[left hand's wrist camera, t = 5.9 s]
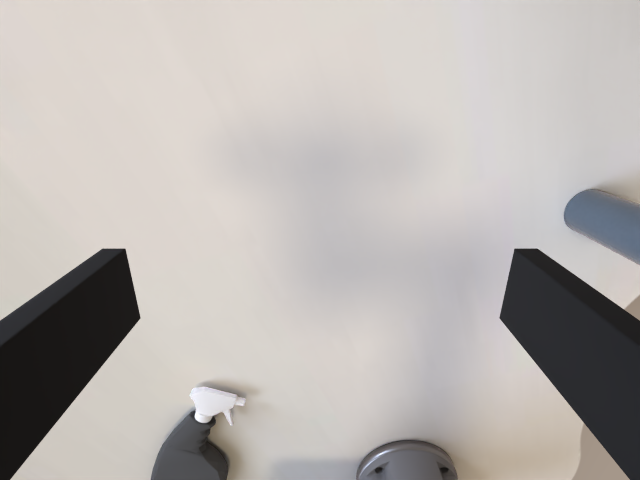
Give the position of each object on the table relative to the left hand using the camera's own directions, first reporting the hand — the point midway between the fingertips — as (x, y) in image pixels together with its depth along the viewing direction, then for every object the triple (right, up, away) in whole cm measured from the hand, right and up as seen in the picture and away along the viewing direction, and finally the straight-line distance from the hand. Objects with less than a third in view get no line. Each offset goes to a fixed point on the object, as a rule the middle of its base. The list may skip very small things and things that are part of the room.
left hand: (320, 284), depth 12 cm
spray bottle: (-18, -29, +42) cm, 54 cm away
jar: (+30, +5, +28) cm, 41 cm away
